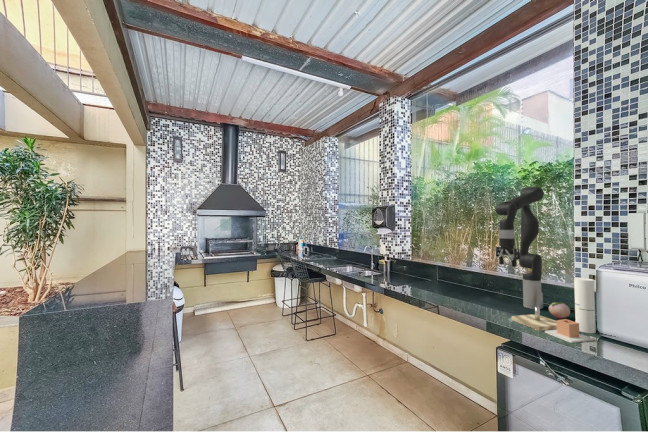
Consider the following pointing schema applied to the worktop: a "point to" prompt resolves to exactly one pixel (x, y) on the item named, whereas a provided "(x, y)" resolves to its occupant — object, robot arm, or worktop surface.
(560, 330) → the collar
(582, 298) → the cylindrical container
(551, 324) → the stand base
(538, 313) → the post
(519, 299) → the worktop surface
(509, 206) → the robot arm
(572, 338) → the pad
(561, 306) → the decorative fruit
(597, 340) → the worktop surface
